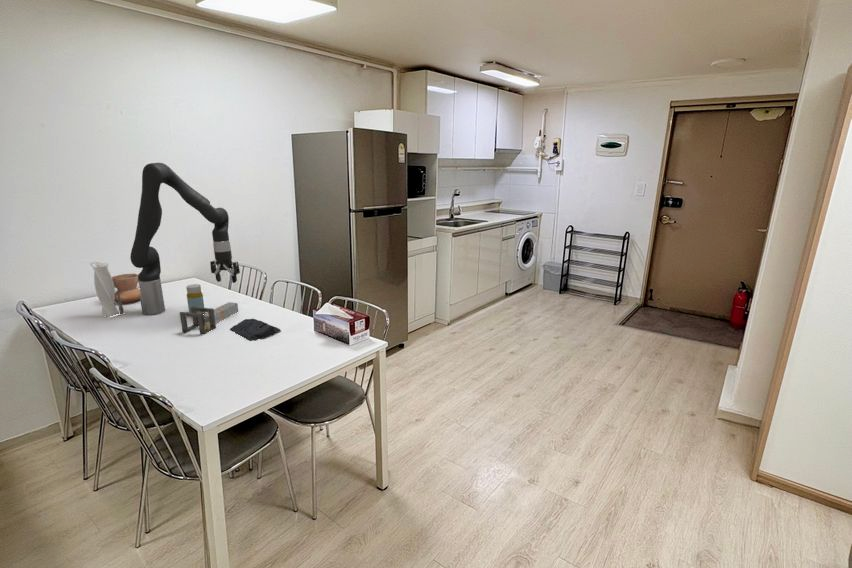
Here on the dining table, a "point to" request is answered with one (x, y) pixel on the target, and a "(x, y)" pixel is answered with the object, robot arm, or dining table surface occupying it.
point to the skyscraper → (106, 290)
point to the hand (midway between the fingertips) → (226, 282)
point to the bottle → (195, 297)
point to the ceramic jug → (127, 287)
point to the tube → (222, 312)
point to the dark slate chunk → (254, 329)
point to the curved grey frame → (198, 320)
